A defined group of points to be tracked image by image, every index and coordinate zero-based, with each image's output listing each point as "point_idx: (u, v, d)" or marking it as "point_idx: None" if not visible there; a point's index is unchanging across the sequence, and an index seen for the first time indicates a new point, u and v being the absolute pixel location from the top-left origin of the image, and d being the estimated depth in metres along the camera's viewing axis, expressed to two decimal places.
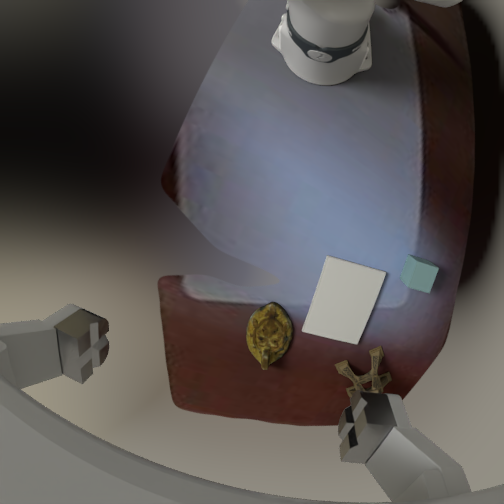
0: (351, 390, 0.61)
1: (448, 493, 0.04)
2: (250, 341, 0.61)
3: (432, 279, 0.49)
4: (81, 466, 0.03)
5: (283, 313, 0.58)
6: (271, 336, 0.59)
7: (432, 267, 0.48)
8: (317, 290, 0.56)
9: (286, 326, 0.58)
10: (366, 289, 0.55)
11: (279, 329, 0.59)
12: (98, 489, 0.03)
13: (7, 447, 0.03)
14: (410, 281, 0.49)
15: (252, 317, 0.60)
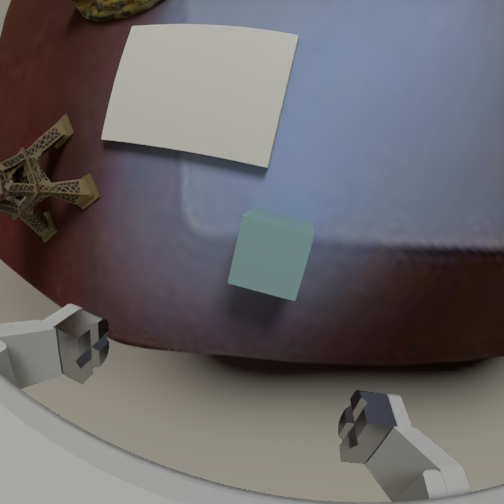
0: None
1: (448, 493, 0.04)
2: None
3: (265, 287, 0.22)
4: (81, 466, 0.03)
5: None
6: None
7: (297, 282, 0.21)
8: (219, 27, 0.21)
9: None
10: (225, 125, 0.23)
11: None
12: (98, 489, 0.03)
13: (7, 447, 0.03)
14: (258, 222, 0.21)
15: None
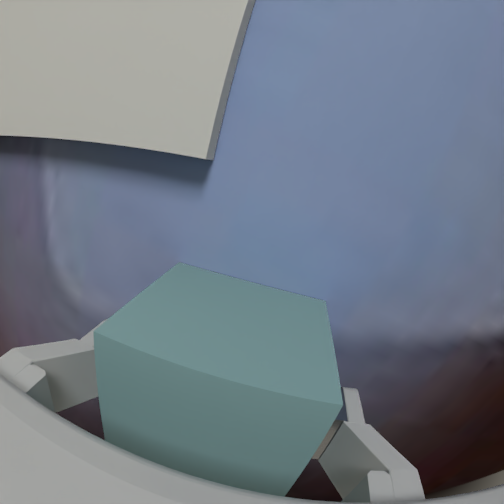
0: None
1: (395, 498, 0.04)
2: None
3: None
4: (81, 466, 0.03)
5: None
6: None
7: (277, 491, 0.06)
8: None
9: None
10: (111, 65, 0.08)
11: None
12: (98, 489, 0.03)
13: (7, 447, 0.03)
14: (142, 356, 0.05)
15: None
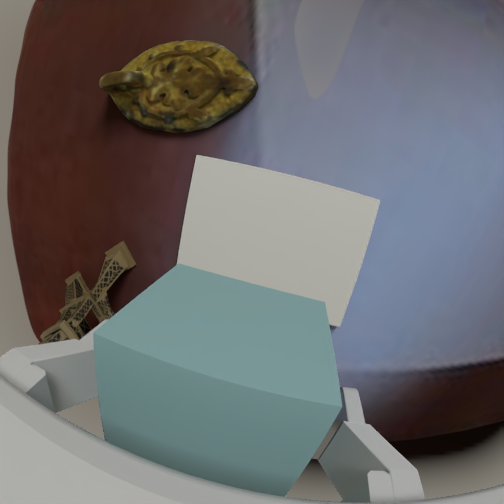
0: (76, 283, 0.30)
1: (395, 498, 0.04)
2: (163, 49, 0.23)
3: None
4: (81, 466, 0.03)
5: (231, 108, 0.24)
6: (174, 86, 0.23)
7: (277, 492, 0.06)
8: (301, 180, 0.24)
9: (200, 115, 0.24)
10: (306, 290, 0.27)
11: (192, 101, 0.24)
12: (98, 489, 0.03)
13: (7, 447, 0.03)
14: (142, 358, 0.05)
15: (220, 47, 0.22)
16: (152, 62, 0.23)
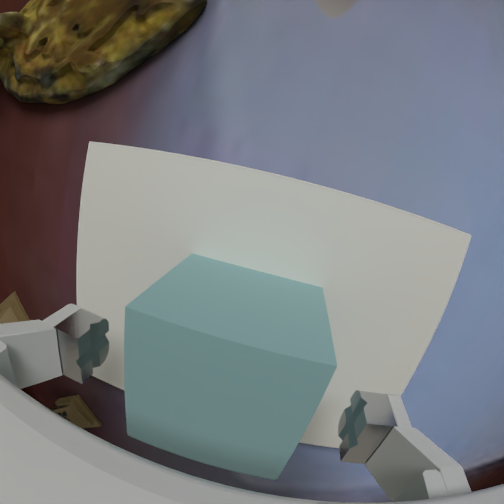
0: None
1: (448, 493, 0.04)
2: None
3: (206, 456, 0.08)
4: (81, 466, 0.03)
5: (147, 41, 0.10)
6: (60, 23, 0.09)
7: (282, 456, 0.07)
8: (308, 188, 0.10)
9: (88, 62, 0.09)
10: None
11: (81, 41, 0.09)
12: (98, 489, 0.03)
13: (7, 447, 0.03)
14: (168, 326, 0.07)
15: None
16: None
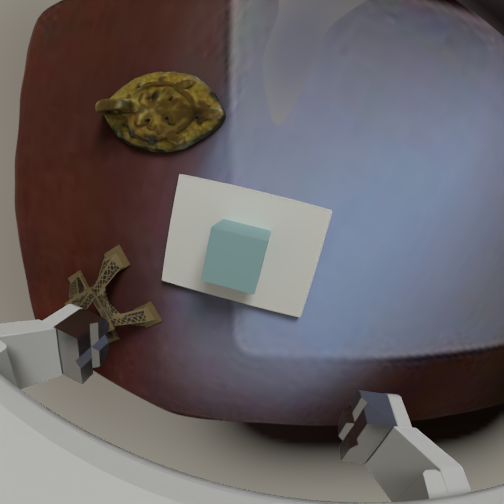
0: (78, 281, 0.35)
1: (448, 493, 0.04)
2: (149, 79, 0.28)
3: (230, 283, 0.27)
4: (81, 466, 0.03)
5: (202, 134, 0.29)
6: (157, 113, 0.29)
7: (255, 279, 0.27)
8: (265, 195, 0.30)
9: (176, 140, 0.29)
10: (270, 286, 0.32)
11: (171, 127, 0.29)
12: (98, 489, 0.03)
13: (7, 447, 0.03)
14: (223, 231, 0.26)
15: (196, 79, 0.28)
16: (140, 90, 0.28)
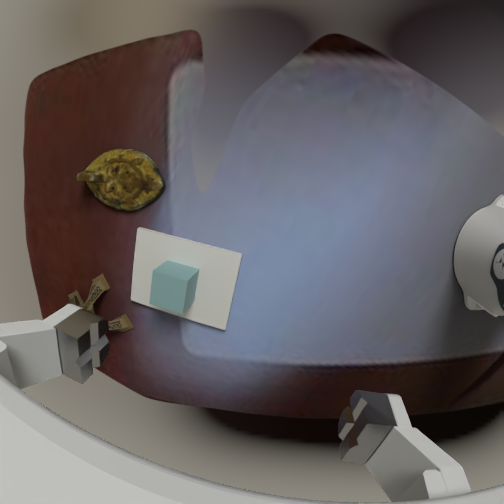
0: (75, 298, 0.48)
1: (448, 493, 0.04)
2: (113, 154, 0.41)
3: (167, 306, 0.40)
4: (81, 466, 0.03)
5: (149, 199, 0.42)
6: (118, 183, 0.41)
7: (182, 304, 0.39)
8: (194, 244, 0.42)
9: (132, 204, 0.41)
10: (202, 307, 0.45)
11: (128, 194, 0.41)
12: (98, 489, 0.03)
13: (7, 447, 0.03)
14: (160, 273, 0.39)
15: (144, 157, 0.40)
16: (106, 164, 0.41)
